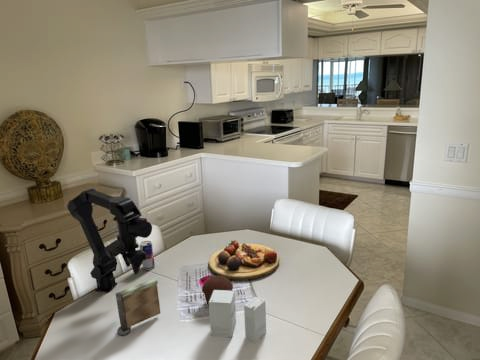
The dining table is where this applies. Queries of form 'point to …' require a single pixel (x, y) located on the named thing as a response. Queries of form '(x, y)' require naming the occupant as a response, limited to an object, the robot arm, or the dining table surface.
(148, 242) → the energy drink
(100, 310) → the dining table surface
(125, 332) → the gate pivot base
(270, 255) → the wooden plate with food
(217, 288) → the muffin
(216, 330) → the supplement box
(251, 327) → the skincare box
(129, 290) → the gate panel
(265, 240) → the dining table surface
